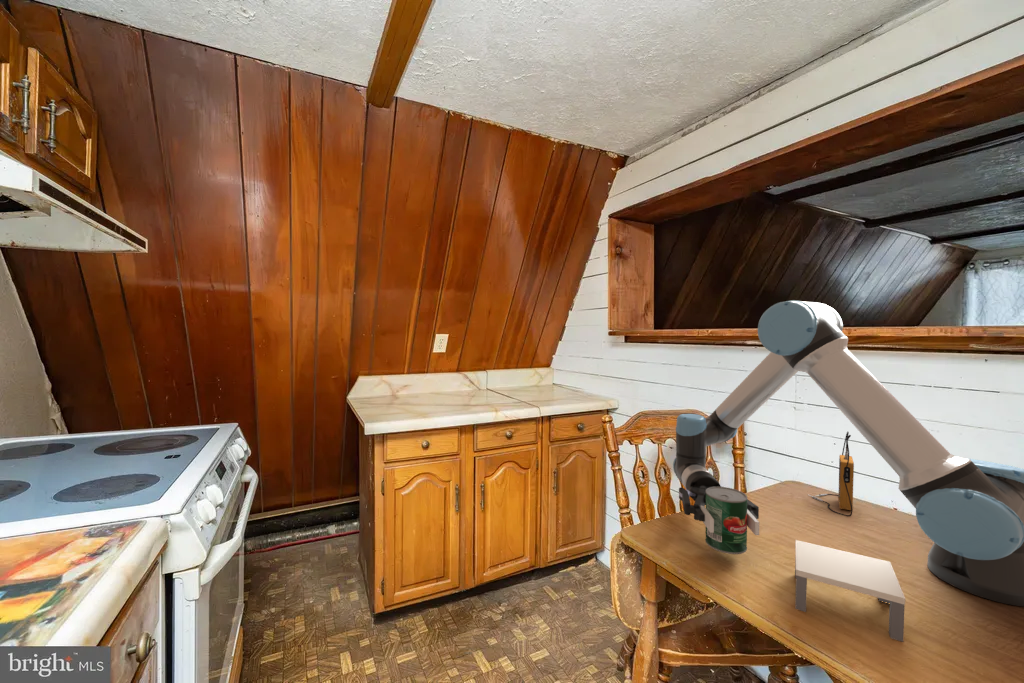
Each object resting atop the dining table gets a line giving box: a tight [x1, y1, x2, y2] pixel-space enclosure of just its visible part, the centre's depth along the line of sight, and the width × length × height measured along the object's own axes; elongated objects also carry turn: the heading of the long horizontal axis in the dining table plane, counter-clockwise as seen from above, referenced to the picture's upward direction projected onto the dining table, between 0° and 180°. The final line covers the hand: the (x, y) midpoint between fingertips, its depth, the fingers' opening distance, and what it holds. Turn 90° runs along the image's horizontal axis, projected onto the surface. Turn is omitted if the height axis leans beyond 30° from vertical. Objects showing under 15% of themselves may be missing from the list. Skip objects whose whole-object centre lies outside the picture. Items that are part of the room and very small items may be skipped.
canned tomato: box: [704, 486, 748, 555], centre depth 89 cm, size 8×8×11 cm
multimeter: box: [806, 431, 855, 517], centre depth 115 cm, size 15×10×20 cm
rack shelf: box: [794, 539, 906, 643], centre depth 74 cm, size 14×12×7 cm
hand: (734, 527), depth 84 cm, fingers closed on canned tomato, 8 cm apart
